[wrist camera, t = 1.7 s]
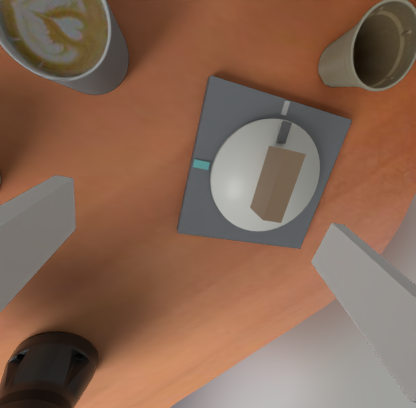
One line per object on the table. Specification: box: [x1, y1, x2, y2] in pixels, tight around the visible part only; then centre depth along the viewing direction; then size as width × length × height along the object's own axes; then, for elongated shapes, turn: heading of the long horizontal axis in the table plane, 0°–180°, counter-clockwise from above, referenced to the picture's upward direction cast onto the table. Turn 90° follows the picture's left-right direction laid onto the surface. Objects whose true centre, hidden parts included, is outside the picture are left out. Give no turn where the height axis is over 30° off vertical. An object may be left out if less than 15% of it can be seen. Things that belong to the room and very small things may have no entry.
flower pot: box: [318, 0, 416, 91], centre depth 30 cm, size 9×9×9 cm
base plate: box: [177, 76, 352, 249], centre depth 37 cm, size 24×24×2 cm
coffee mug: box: [0, 0, 129, 95], centre depth 23 cm, size 13×10×10 cm
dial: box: [210, 119, 320, 231], centre depth 33 cm, size 18×18×6 cm
